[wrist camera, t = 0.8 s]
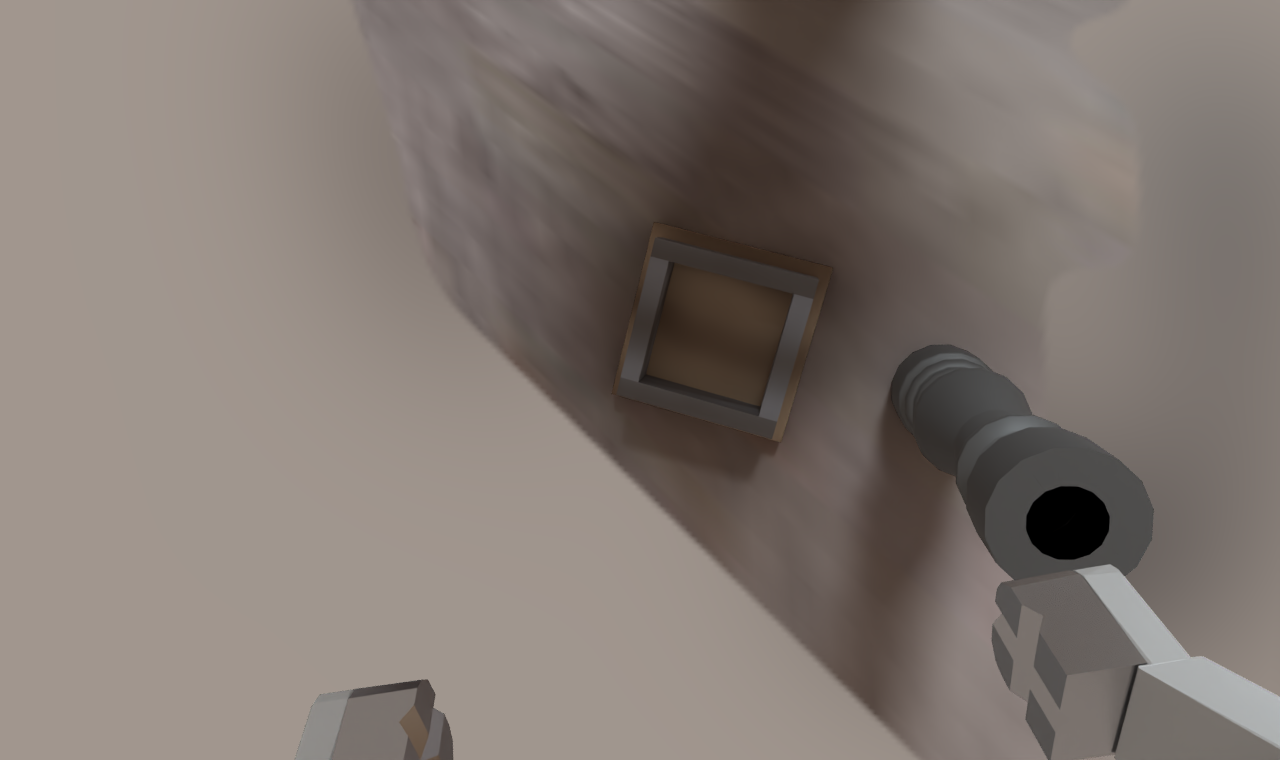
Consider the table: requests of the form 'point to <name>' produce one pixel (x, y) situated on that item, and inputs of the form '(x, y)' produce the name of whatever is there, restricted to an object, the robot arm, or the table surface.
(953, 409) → the candle holder
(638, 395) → the socket base
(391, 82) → the table surface
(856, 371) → the table surface
